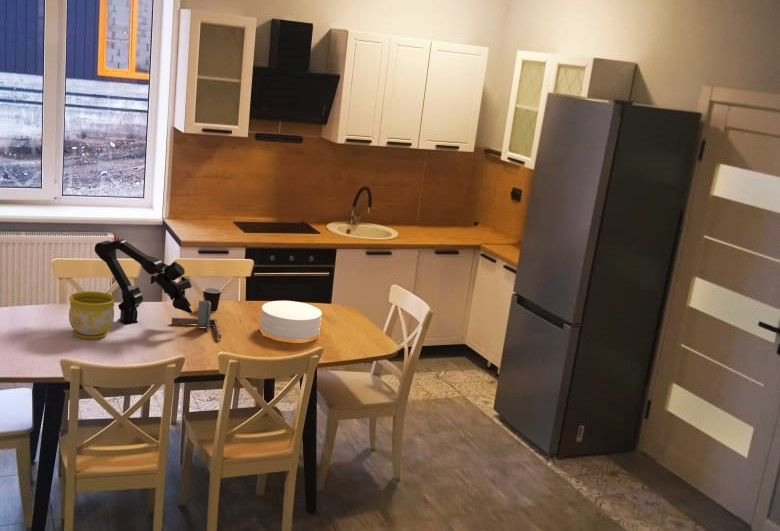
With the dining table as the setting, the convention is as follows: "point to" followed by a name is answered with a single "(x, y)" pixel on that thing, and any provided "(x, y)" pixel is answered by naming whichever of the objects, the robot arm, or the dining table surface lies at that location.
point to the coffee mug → (212, 297)
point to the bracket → (204, 314)
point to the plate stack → (290, 320)
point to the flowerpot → (91, 314)
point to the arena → (194, 321)
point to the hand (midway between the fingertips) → (190, 309)
